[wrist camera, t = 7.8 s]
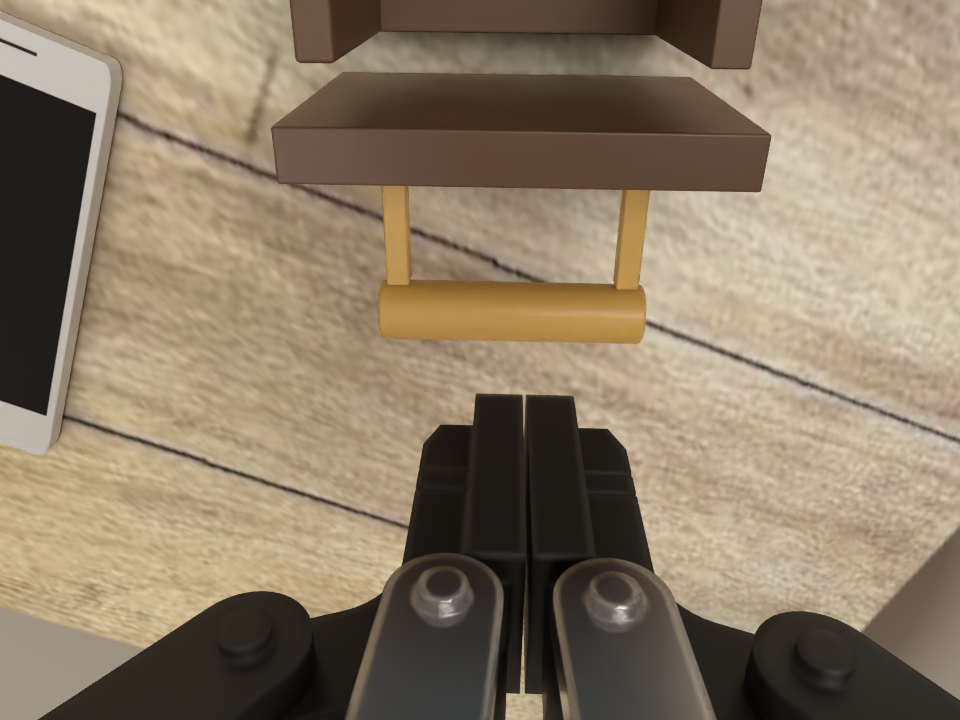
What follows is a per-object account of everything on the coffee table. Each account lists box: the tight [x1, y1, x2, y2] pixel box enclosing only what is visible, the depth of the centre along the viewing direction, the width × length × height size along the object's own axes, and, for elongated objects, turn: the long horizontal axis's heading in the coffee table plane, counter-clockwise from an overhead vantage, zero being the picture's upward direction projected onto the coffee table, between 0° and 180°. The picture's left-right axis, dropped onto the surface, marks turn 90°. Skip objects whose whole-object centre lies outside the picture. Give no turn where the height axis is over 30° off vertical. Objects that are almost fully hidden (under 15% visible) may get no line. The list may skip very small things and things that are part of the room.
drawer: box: [271, 0, 771, 344], centre depth 18 cm, size 16×10×8 cm, turn 179°
